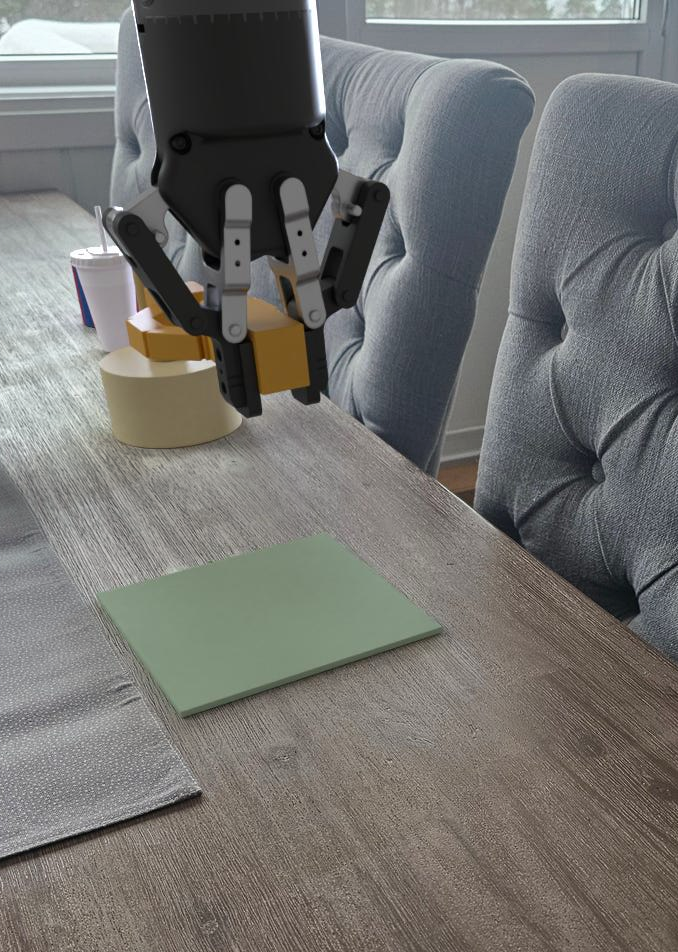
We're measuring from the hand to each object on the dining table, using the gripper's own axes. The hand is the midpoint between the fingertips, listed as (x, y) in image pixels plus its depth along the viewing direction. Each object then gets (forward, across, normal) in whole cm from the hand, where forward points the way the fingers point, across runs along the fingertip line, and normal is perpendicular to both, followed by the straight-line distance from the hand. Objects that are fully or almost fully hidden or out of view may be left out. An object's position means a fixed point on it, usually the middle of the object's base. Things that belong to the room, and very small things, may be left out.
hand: (276, 405), depth 56 cm
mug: (+15, -13, -82) cm, 85 cm away
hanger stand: (+15, -7, -43) cm, 46 cm away
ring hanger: (-1, 0, -7) cm, 7 cm away
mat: (+15, 0, -7) cm, 16 cm away
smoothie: (+15, -10, -70) cm, 72 cm away
